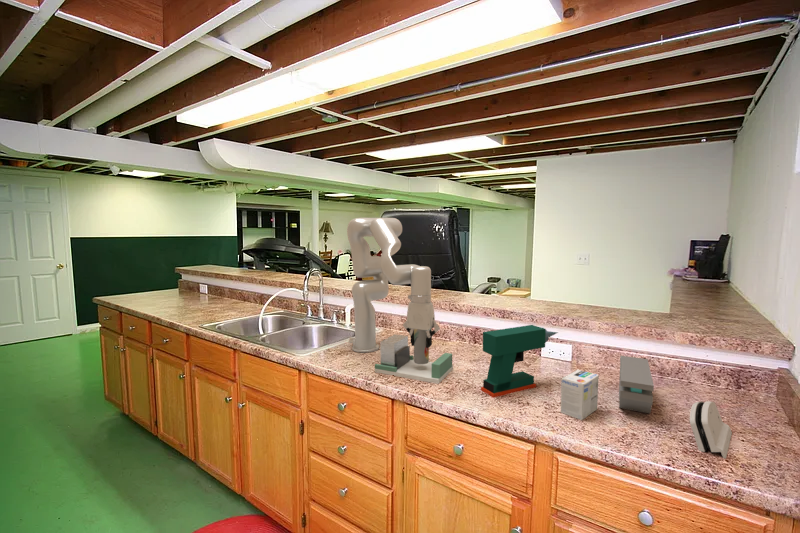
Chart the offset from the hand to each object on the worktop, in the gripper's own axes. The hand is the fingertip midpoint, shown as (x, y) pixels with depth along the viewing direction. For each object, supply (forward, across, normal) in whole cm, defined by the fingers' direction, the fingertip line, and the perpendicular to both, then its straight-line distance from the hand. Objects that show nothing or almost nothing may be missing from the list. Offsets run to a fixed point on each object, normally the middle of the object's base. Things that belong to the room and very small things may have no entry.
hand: (421, 345), depth 145 cm
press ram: (+9, -11, 0) cm, 14 cm away
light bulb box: (+11, +55, -9) cm, 57 cm away
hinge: (+11, +85, -12) cm, 87 cm away
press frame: (+10, -3, 0) cm, 11 cm away
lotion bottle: (+7, 0, 0) cm, 7 cm away
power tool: (+11, +37, +4) cm, 39 cm away
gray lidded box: (+11, +70, +4) cm, 71 cm away
